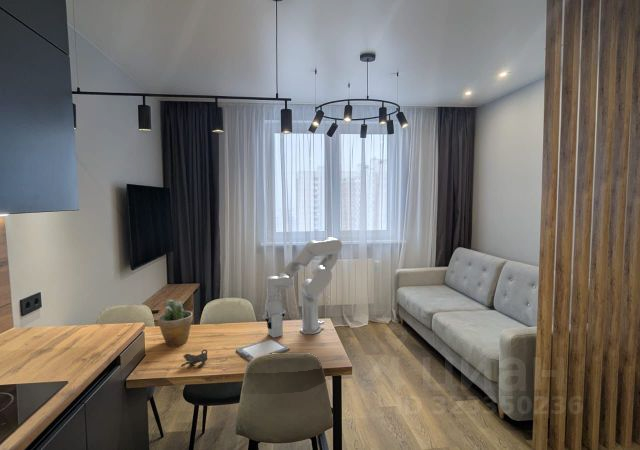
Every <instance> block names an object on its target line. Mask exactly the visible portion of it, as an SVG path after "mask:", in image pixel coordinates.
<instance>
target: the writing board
mask: <svg viewBox="0 0 640 450" xmlns="http://www.w3.org/2000/svg"><path fill="white" fill-rule="evenodd" d="M289 351H290V347H288V346H287V345H285V344H282V343H281V342H279V341H278V340H275V339H274V338H273V337H271V338H268V339H264V340H262V341H258V342H256V343H252V344H249V345H245V346H243V347H239V348H237V349H235V352H236V353H237V354H239V355H240V356H241V357H243V358H244V359H245V360H247V361H248V362H249V361H251V360H252V359H253V358H255V357H257V356H260V355H266V354H272V353H280V354H282V352H283V353H285V352H289Z"/></svg>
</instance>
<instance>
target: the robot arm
mask: <svg viewBox="0 0 640 450" xmlns="http://www.w3.org/2000/svg"><path fill="white" fill-rule="evenodd" d="M342 248H343V243H342V241H341V240H340V239H338V238H335V237H332V236H329V237H327V238H325V240H320V241H318V240H314V239H312V240H309V241H308V242H307V243H306V244H305V245H304V246H303V248H302V249H301V250H300V251H299V252H298V254H297V255H296V257H295V258H294V259H293V260H291V261H290V262H289V263H287V265H286V266H285V267H284V268H283V270H282V271H281V272H280V273H279V275H278V276H277V275H270V276H267V278H266V284H265V285H266V296H267V297H266V300H265V303H264V304H265V307H264V313H263V315H262V320H264V321H265V322H266V325H267V329H268V328H269V329H271V322H270V321H271V316H272V315H275V314H278V313H281V314H282V324H283V319H284V316H285V315H286V313H287V310H286V309H284V306H283V302H282V298H281V297H282V293H281V289H284V290H287V289H288V290H289V289H290V288H292V287H293V285H294V280H293V277H294V276H295V275H296V274H297V273H298V272H299V271H300V270H304V269H306V268H307V267H308V266H309V264H311V262H312V261H313V259H314V258H315V257H322V256H323V257H322V258H321V260H320V261H318V263H317V265H316V266H315V267H314V268H313V270H312V276H313V278H305V279H304V280H303V281H302V283H301V284H300V293H301V294H300V295H301V315H302V316H301V318H302V326H301V327H300V328H299V332H300V333H301V334H304V335H314V334H318V333H320V332H321V330H322V329H321V326H322V325H324V324H325V321H324V320H322V321H320V320H319V304H318V303H319V301H318V298H319V297H320V296H321V295H322V293H323V292H324V291H325V290H326V288H327V287H328V285H329V284H330V282H331V281H332V277H333V273H332V270H333V268H334V267H335V265H336V264H337V262H338V259H339V253H340V251H341V250H342ZM267 316H268V317H267Z"/></svg>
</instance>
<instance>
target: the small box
mask: <svg viewBox="0 0 640 450" xmlns="http://www.w3.org/2000/svg"><path fill="white" fill-rule="evenodd" d="M267 317H268V316H266V318H267ZM282 321H283V319H282V314H281V313H278V314H275V315H272V316H271V321H270V322H271V329H269V328H268V327H267V330H268V331H267V333H268V335H269V336H271V338H272V339H274V338H278V337H282V336H284V330H283V323H282Z"/></svg>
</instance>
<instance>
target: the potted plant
mask: <svg viewBox="0 0 640 450" xmlns="http://www.w3.org/2000/svg"><path fill="white" fill-rule="evenodd" d="M165 304H166V305H165V306H166V307H164V313H163V314H161V315H159V316H158V317H157V323H158V327H159V328H160V332H161V334H162V337H163V340H164V342H165V344H166V346H168V347H179V346H182V345H184V344H186V343H187V342H188V339H189V335H190V331H191V326H192V322H193V312H192V311H190V310H185V309H184V306H183V301H175V299H168V300H166V303H165Z"/></svg>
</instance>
